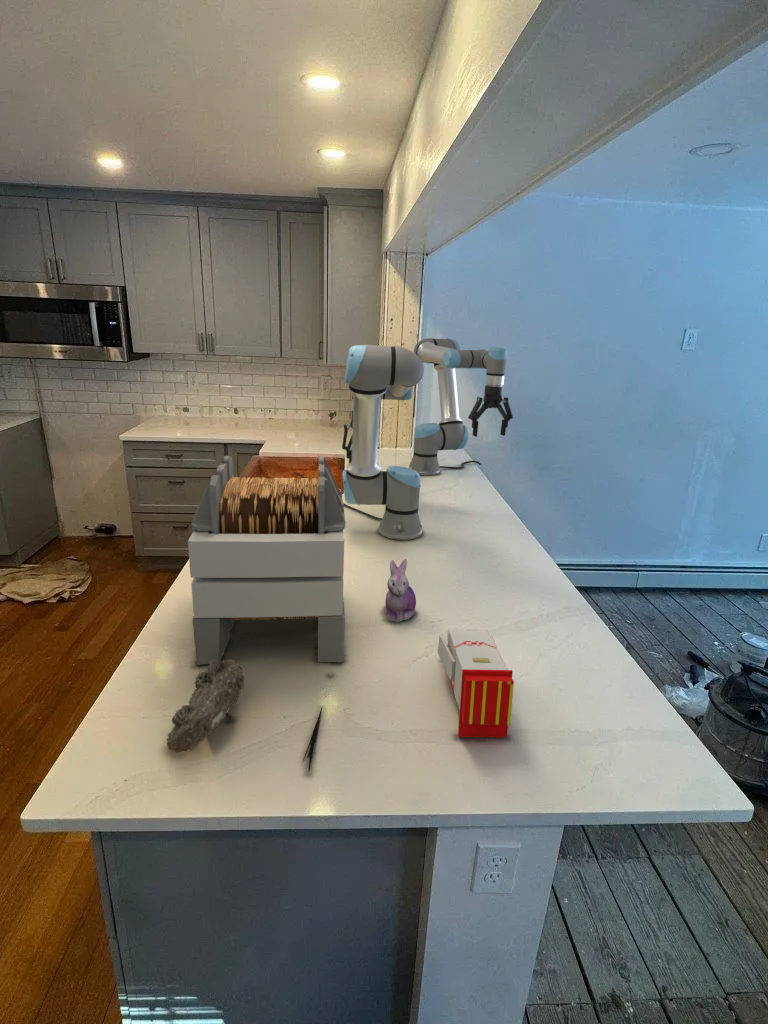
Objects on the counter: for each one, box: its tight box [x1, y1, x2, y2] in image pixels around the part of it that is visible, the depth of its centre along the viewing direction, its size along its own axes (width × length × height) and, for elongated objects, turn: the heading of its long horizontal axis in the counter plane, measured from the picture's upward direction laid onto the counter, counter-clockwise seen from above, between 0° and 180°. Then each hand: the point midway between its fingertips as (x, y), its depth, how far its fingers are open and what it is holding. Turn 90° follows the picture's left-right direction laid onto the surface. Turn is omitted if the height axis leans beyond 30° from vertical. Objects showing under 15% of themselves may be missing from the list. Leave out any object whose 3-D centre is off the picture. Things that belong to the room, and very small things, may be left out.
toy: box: [437, 628, 515, 738], centre depth 117 cm, size 12×13×30 cm
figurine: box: [384, 558, 417, 623], centre depth 145 cm, size 9×10×15 cm
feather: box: [301, 673, 332, 771], centre depth 108 cm, size 2×28×2 cm
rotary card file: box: [187, 455, 346, 666], centre depth 133 cm, size 34×33×41 cm
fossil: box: [166, 658, 245, 754], centre depth 106 cm, size 22×10×15 cm
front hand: (359, 466), depth 232 cm, fingers closed on small box, 7 cm apart
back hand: (488, 435), depth 244 cm, fingers open, 13 cm apart
